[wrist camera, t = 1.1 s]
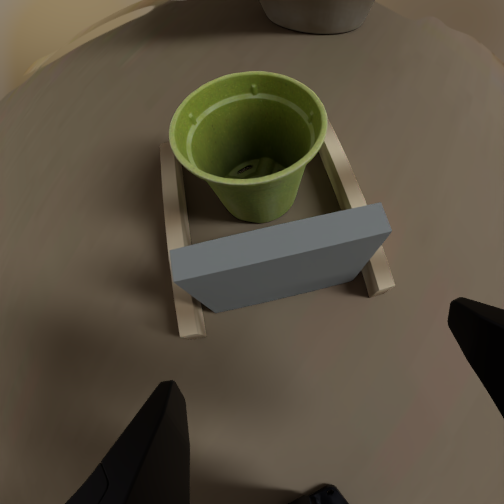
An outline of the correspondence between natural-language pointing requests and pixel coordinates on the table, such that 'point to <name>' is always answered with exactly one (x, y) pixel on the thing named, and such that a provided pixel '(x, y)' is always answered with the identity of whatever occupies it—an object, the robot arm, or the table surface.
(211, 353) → the table surface
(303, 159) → the plant pot
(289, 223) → the board
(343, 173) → the wooden rail frame
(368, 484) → the table surface
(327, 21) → the plant pot
